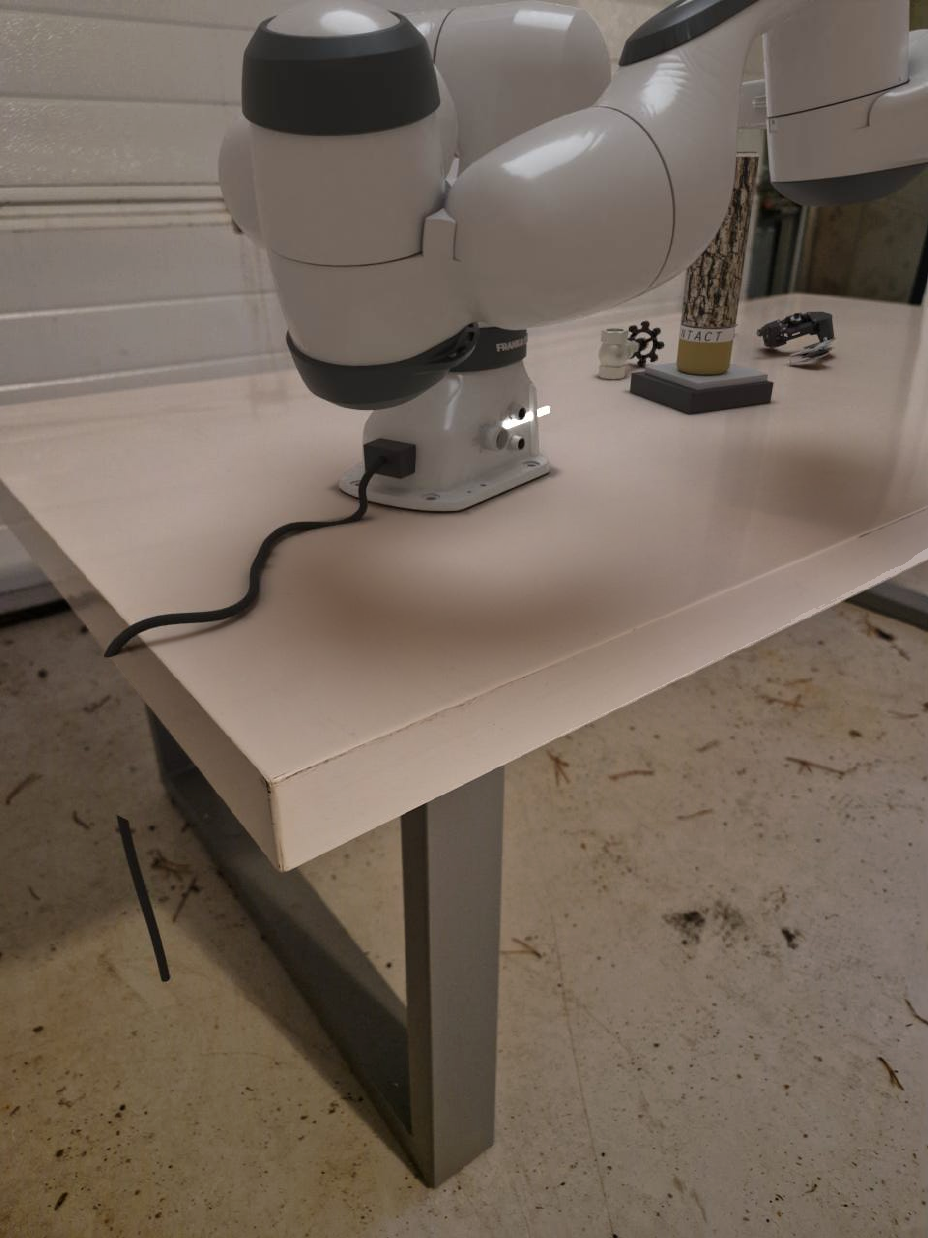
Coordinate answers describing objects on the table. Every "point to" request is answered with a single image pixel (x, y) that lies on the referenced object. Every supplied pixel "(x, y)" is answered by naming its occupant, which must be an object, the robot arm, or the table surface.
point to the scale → (702, 388)
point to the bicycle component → (801, 333)
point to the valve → (626, 349)
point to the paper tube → (718, 282)
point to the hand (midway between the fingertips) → (810, 108)
